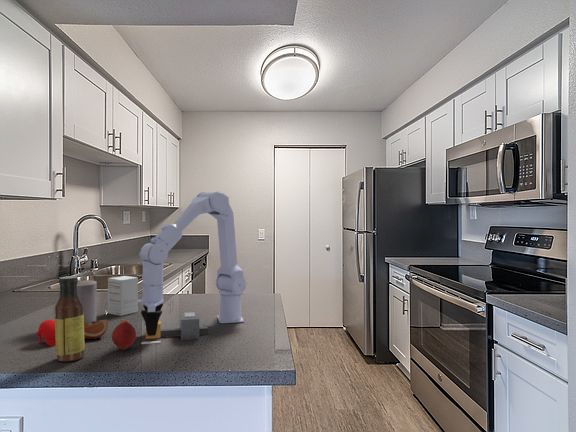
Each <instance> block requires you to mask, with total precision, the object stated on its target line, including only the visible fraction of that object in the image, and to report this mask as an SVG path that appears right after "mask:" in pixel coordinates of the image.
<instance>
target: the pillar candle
mask: <svg viewBox="0 0 576 432" xmlns="http://www.w3.org/2000/svg"><path fill="white" fill-rule="evenodd" d="M97 283H98V282H97V281H96V280H91V279H86V280H85V279H83V280H82V279H81V278H79V280H78V282H77V292H78V297H79V300H80V302H81V304H82V307H83V312H84V323H91V322H92V321H97V304H98V303H97V297H98V295H97V293H98V292H97V291H98V289H97V288H98V287H97V286H98V284H97Z"/></svg>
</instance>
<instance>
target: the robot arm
mask: <svg viewBox="0 0 576 432" xmlns="http://www.w3.org/2000/svg"><path fill="white" fill-rule="evenodd" d="M190 202H191V203H189V205H188V206H187V207H186V208H185V209H184V211H183V212H182V213H181V214H180V216H179V217H178V218H177V219H176V220H175V221H174V222H173V223H167V224H166V225H163V226H161V230H160V232H158V233H157V235H155V237H151V239H150V242H148V243H145V244H144V245H143V246H142V247H141V249H140V251H139V252H138V256H139V260H141V262H142V288H141V289H142V292H141V293H142V296H141V297H142V298H141V299H138V304H141V305H142V306H143V308H144V310H143V309H142V310H141V311H140V313H141V314H140V315H141V317H142V318H143V320H144V324H145V332H146V331H147V335H148V336H154V335H156V331H157V325H158V321H160V318H161V315H162V314H163V310H162V308H163V306H164V302H165V301H164V262H165V261H166V260H167V259H168V255H169V252H170V250H171V249H172V248H173V247H174V246H175V245H176V244H177V243H178V242H179V241H180V240H181V238H183V231H184V230H185V229H186V228H187V227H188V226H189V225H191V223H192V222H194V220H195V219H196V218H198V217H199V216H200V215H203V214H208V215H210V216H212V217H213V218H214V219H215V220H216V221H217V222H216V223H217V233H218V234H217V235H218V246H219V247H218V248H219V260H220V261H219V262H220V266H219V268H218V269H217V271H216V272H217V274H216V279H215V287H216V288H217V290H218V291H219V292H218V293H219V315H218V314H217V316H216V318H217V320H218V323H219V324H231V323H232V324H235V323H245V321H244V320H245V319H244V318H243V317H242V299H243V298H242V295H243V294H244V292H245V290H246V287H247V279H246V278H245V275H244V270H243V269H242V268H241V267H240V266H239V265H238V257H237V245H236V232H235V219H234V211H233V209H232V207H231V204H230V199H229V196H227V194H225V193H224V192H222V191H218V190H217V191H211V192H202V191H201V192H199V193H198V194H197V195H196V196H195V197H194V198H192V200H191V201H190Z"/></svg>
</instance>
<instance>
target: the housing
mask: <svg viewBox="0 0 576 432" xmlns="http://www.w3.org/2000/svg"><path fill="white" fill-rule="evenodd" d="M199 316H200V315H199V313H198V310H187V311H184V310H183V311H182V310H181V311H180V322H179V323H180V326H179V327H180V328H181V336H180V340H181V341H186V340H189V341H190V340H199V339H200V335H199V327H200V317H199Z"/></svg>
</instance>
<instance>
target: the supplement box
mask: <svg viewBox="0 0 576 432" xmlns="http://www.w3.org/2000/svg"><path fill="white" fill-rule="evenodd" d="M107 281H108V282H107V286H108V288H107V313H108V314H110V315H114V316H119V317H122V316H126V315H130V314H135V313H137V312H138V311H139V310H138V309H139V307H138V306H139V303H138V300H139V298H138V297H139V292H138V291H139V289H138V288H139V286H138V285H139V277H136V276H128V275H123V276H121V275H120V276H115V277H108V278H107Z"/></svg>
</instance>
